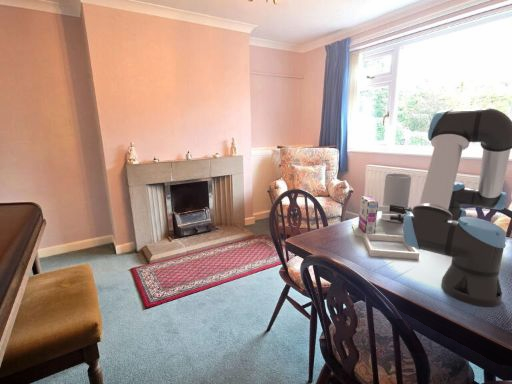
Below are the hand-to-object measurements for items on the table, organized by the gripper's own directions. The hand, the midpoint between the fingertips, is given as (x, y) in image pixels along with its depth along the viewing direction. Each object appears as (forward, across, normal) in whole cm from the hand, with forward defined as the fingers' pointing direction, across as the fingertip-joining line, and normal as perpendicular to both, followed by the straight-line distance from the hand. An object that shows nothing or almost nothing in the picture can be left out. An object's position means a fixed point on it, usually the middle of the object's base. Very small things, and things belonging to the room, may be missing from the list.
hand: (378, 212), depth 135 cm
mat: (+4, 0, -10) cm, 11 cm away
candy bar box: (+5, 0, -10) cm, 11 cm away
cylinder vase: (-13, +22, -10) cm, 28 cm away
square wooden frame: (-1, -18, -10) cm, 21 cm away
